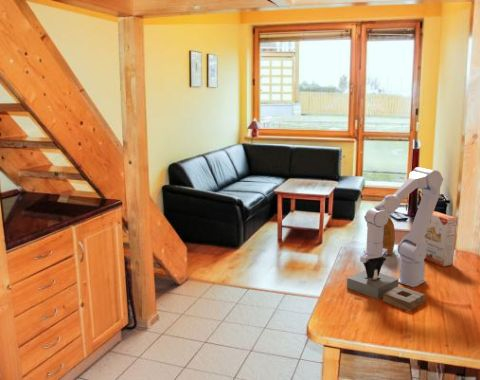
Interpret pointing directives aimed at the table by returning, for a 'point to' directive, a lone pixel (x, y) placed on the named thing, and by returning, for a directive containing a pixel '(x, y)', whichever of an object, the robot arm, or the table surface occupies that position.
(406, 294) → the socket block
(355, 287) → the grey square hole plate
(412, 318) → the table surface
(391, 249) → the coffee package
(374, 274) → the metal peg
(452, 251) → the cracker box
